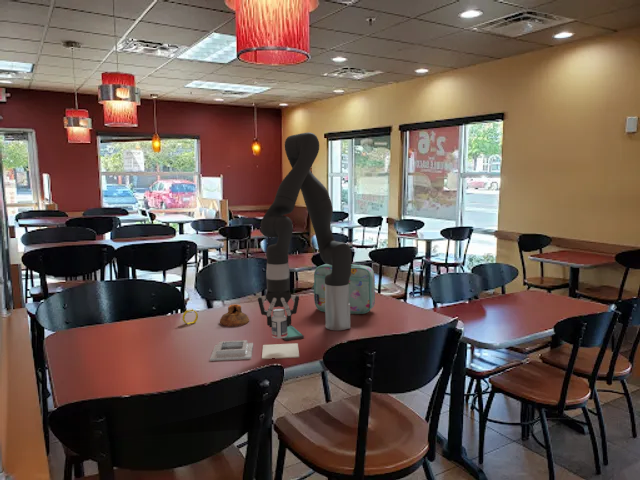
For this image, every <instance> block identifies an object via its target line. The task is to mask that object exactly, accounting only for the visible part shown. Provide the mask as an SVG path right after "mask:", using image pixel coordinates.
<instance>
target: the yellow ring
mask: <svg viewBox="0 0 640 480" xmlns="http://www.w3.org/2000/svg"><path fill="white" fill-rule="evenodd" d="M191 312H194V313H195V318H194V320H193V321H190V322H187V321H186V317H185V316H187V315H186V314H187V313H191ZM198 318H199V314H198V312H197V311H196V310H194V308H190V307H189V308H187V309H186V310H185V311H184V312H183V314H182V321H183V323H184V324H186V325H191V324H195V323H196V322H197V321H198Z"/></svg>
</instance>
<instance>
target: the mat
mask: <svg viewBox="0 0 640 480" xmlns="http://www.w3.org/2000/svg"><path fill="white" fill-rule="evenodd" d="M261 352H262V353H261V354H262V355H261V359H262V360H269V359H270V360H271V359H272V358H275V359H290V358H291V359H292V358H295V359H297V358H300V352H299V343H295V342H294V343H281V344H280V343H278V344H277V343H275V344H263V345H262V351H261ZM272 360H273V359H272Z"/></svg>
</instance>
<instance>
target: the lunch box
mask: <svg viewBox="0 0 640 480" xmlns="http://www.w3.org/2000/svg"><path fill="white" fill-rule="evenodd" d="M331 273H332V265H329V264H326V263H324V264H322V265H319V266H317V267H316V268H315V269H314V273H313V284H312V287H311V290H313V299H314V305H315V308H316V309H317V310H318V311H320V312H324V313H325V276H327V275H329V274H331ZM375 280H376V279H375V271H374V270H373V268H372V267H370V266H369V265H364V264H352V263H351V275H350V278H349V303H350V315H360V314H364V315H365V314H367V313H369V312H370V311H371V310H372V309H373V308H374V306H375V304H376V303H375V302H376V281H375Z"/></svg>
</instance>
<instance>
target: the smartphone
mask: <svg viewBox="0 0 640 480" xmlns="http://www.w3.org/2000/svg"><path fill="white" fill-rule="evenodd" d="M287 332H288V335H287V337H285V338H282V340H284V341H285V342H286V341H287V342H289V341H295V340H301V339H304V338H305V335H303V334H302V333H301V332H300V331H299V330H298V329H297V328H296V327H295V326H293V325H292V324H291V325H289V327H287Z"/></svg>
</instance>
